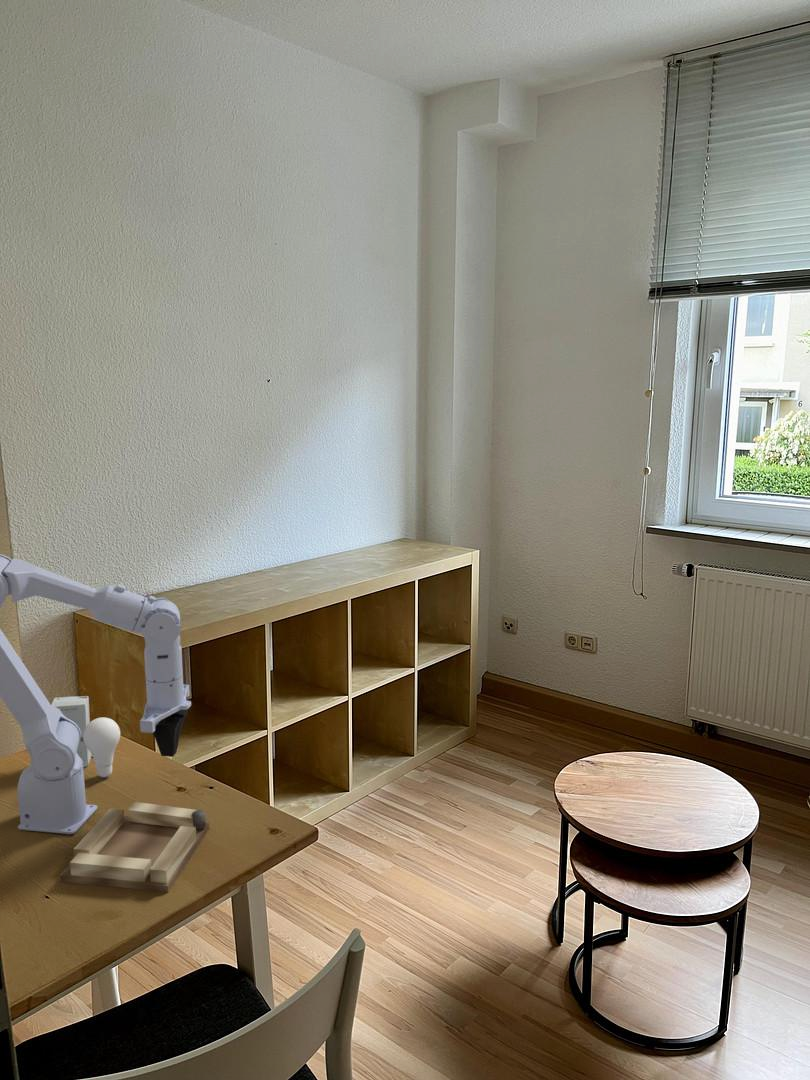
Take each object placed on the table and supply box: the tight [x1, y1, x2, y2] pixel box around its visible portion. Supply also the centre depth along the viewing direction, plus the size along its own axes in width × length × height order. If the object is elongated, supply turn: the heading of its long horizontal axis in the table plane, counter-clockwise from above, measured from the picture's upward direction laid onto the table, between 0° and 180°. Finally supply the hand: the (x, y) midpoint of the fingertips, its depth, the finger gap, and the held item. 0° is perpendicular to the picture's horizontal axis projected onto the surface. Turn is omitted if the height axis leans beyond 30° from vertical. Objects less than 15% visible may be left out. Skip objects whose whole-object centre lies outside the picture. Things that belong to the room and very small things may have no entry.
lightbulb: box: [83, 716, 121, 779], centre depth 148 cm, size 6×6×11 cm
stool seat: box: [59, 808, 210, 893], centre depth 127 cm, size 16×16×3 cm
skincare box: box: [50, 695, 93, 768], centre depth 153 cm, size 6×4×12 cm
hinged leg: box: [126, 801, 207, 830], centre depth 133 cm, size 12×2×2 cm, turn 78°
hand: (168, 754), depth 138 cm, fingers closed
